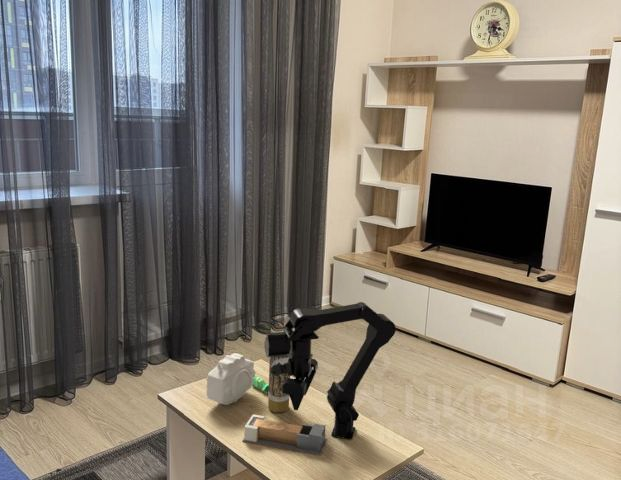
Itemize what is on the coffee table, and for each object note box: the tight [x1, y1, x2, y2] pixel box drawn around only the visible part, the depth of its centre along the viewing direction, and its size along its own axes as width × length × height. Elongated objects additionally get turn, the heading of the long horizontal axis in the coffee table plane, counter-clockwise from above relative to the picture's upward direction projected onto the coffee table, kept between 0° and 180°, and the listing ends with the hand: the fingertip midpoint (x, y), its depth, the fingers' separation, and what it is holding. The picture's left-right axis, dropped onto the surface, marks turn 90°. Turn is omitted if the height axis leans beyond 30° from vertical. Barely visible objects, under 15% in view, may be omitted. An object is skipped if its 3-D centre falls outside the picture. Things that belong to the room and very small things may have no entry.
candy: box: [253, 375, 269, 395], centre depth 205 cm, size 12×3×4 cm
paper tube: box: [267, 350, 291, 414], centre depth 189 cm, size 7×7×25 cm
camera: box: [206, 353, 256, 406], centre depth 193 cm, size 11×18×16 cm, turn 148°
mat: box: [242, 438, 327, 457], centre depth 173 cm, size 8×24×1 cm, turn 77°
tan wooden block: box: [250, 418, 303, 445], centre depth 173 cm, size 4×15×4 cm, turn 77°
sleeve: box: [297, 423, 326, 452], centre depth 171 cm, size 6×7×5 cm
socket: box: [243, 413, 265, 442], centre depth 175 cm, size 7×4×4 cm, turn 167°
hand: (300, 402), depth 172 cm, fingers open, 9 cm apart
